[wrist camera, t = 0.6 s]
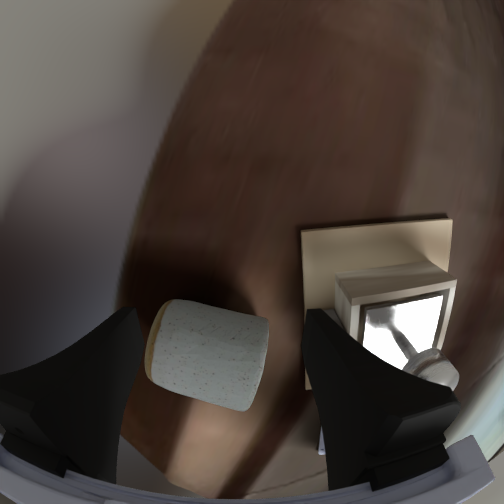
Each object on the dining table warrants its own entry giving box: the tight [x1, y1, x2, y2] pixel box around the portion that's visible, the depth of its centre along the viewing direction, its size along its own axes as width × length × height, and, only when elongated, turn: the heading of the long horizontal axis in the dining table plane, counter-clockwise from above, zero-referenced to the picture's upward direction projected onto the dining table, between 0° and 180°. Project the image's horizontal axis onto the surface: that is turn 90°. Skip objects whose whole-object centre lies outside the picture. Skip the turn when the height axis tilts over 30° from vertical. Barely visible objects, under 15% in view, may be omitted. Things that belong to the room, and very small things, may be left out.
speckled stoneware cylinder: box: [145, 299, 269, 411], centre depth 21 cm, size 11×8×8 cm
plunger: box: [361, 293, 459, 391], centre depth 16 cm, size 7×7×6 cm
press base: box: [300, 218, 457, 390], centre depth 21 cm, size 16×14×5 cm
